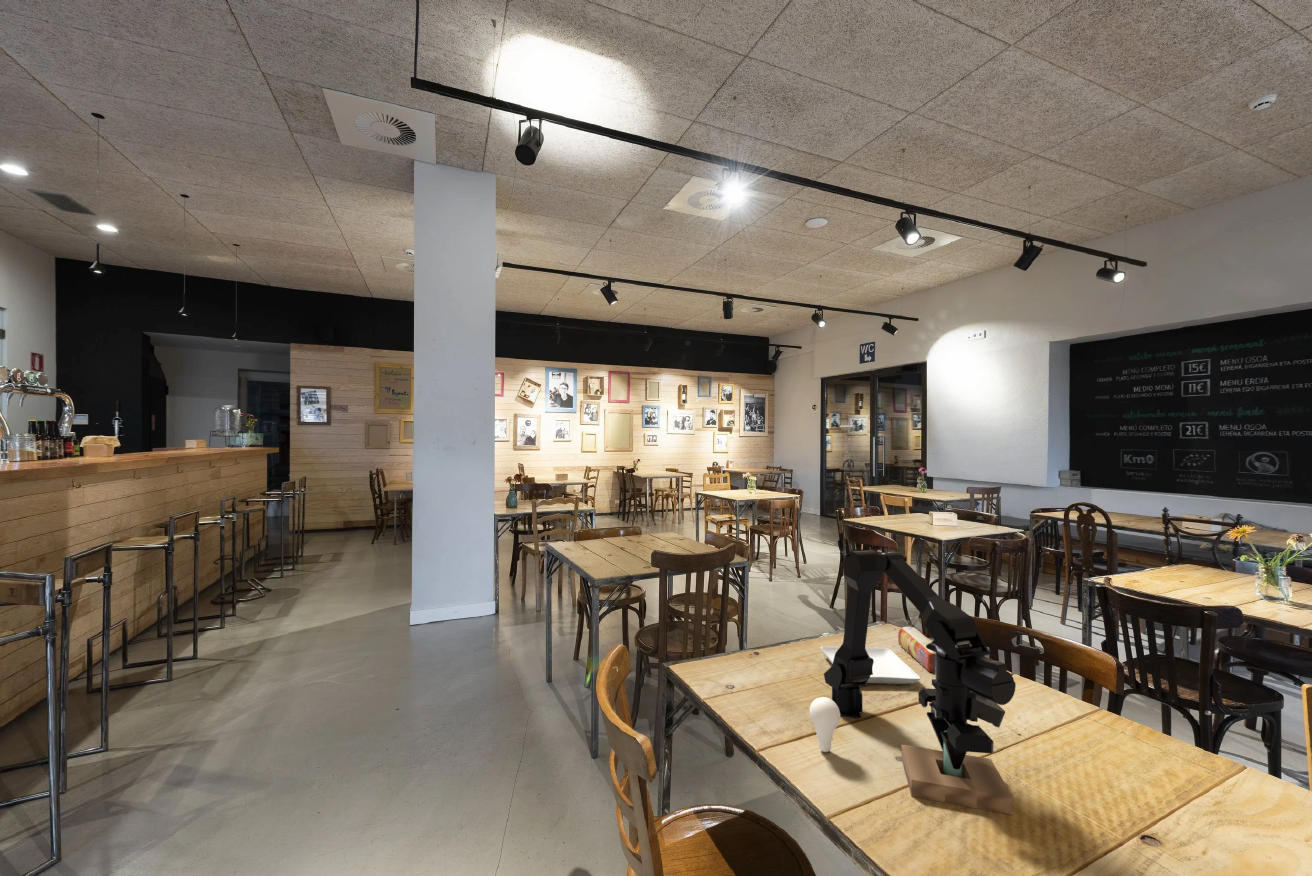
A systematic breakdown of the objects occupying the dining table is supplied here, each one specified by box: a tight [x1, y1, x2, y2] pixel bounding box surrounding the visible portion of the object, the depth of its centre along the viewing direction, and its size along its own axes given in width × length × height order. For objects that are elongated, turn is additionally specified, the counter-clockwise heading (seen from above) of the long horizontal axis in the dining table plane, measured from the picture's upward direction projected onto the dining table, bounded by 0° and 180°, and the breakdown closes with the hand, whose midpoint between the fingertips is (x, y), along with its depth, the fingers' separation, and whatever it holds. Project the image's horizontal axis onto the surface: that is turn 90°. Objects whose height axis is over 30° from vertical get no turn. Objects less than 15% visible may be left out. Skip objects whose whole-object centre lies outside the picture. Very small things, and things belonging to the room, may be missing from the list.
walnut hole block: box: [901, 744, 1013, 816], centre depth 100 cm, size 16×12×3 cm
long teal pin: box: [943, 730, 962, 778], centre depth 100 cm, size 3×3×8 cm
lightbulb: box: [809, 696, 841, 753], centre depth 111 cm, size 6×6×11 cm
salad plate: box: [820, 646, 921, 685], centre depth 151 cm, size 21×21×3 cm
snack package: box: [897, 626, 936, 674], centre depth 160 cm, size 21×7×7 cm, turn 177°
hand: (952, 763), depth 100 cm, fingers closed on long teal pin, 3 cm apart
